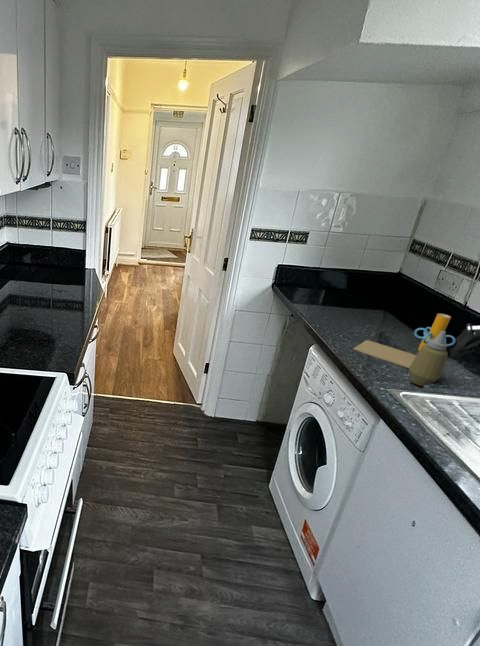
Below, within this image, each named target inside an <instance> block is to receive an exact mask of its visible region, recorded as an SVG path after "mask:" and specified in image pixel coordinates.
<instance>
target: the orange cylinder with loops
mask: <svg viewBox="0 0 480 646" xmlns="http://www.w3.org/2000/svg"><path fill="white" fill-rule="evenodd" d="M451 319H452V316H451V315H448V314H445V313H436V316H435V318H434V321H433V323H432V325H431V326H427V327H425V328H424V327H418V328H416V329H414V332H413V334H414V337H415V338H417V339H419V340H421V341H420V343H419V346H418V348H417V351H418V352H419V351H420V349H421V347H422V346H424V345H427V344H428V341H429V340H430V339H435V338H436V337H437V335H438V334H439V333H440V332H441V331H445V332H446V329H447V327H448V325H449V323H450V322H451ZM418 331H423V336H419V335H418ZM447 338H449V339H452V342H450V343H447ZM444 342H445V343H447V345H448V346H447V347H452V346H455V344H456V343H457V341H456V337H455V336H453V335H451V334H446V335H445V341H444Z"/></svg>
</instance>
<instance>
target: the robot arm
mask: <svg viewBox="0 0 480 646" xmlns="http://www.w3.org/2000/svg"><path fill="white" fill-rule="evenodd" d="M455 340H456V345H453V347H451V348H450V349H449V352H450V353H449V354H450V359H454V360H458V359H460V358H462V357H464V356H466V355H468V354H471V353H474V354H480V325H473V323H467V324H465V329H464V330H463V331H462V332H460V334H459V335H458V336H457V337H455Z"/></svg>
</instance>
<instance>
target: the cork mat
mask: <svg viewBox="0 0 480 646" xmlns="http://www.w3.org/2000/svg"><path fill="white" fill-rule="evenodd" d="M352 350H354V351H357V352H360V353H363V354H366V355H368V356H370V357H373V358H376V359H379V360H382V361H385V362H387V363H391V364H394V365H397V366H400V367H402V368H406V369H409V367H410V365H411V364H412V362H413V360H414V359H415V357H416V356H417V354H414V353H411V352H407V351H404V350H400V349H397V348H395V347H391V346H389V345H385V344H381V343H380V342H379V343H378V342H375V341H371V340H369V339H365V340H364V341H363V342H361V343H359V344H358V345H357V346H355V347H353V348H352Z"/></svg>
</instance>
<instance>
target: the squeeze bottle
mask: <svg viewBox="0 0 480 646" xmlns="http://www.w3.org/2000/svg"><path fill="white" fill-rule="evenodd" d="M445 335H447V331H446V330H445V331H441V332H440V333H439V334H438V335H437V337H436V338H435V339H430V340H429V341H428V344H427V345H424V346H422V347H421V349H420V351H418V352H417V354H416V355H417V356H416V357H415V359H414V360H413V362H412V364H411V365H410V367H409V368H408V380H409V382H411V383H413V384H415V385H417V386H420V387H425V386H427V384H428V383H429V384H430V383H432V384H433V383H436V382H437V381H438V380H439V379H440V378H441V376H442V373H443V370H444V366H445V363H446V361H447V357H448V355H449V353H448V351H447V347H449V346H448V345H447V344H448V343H447V342H446V343H445V342H444V341H445V338H446V337H445Z"/></svg>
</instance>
